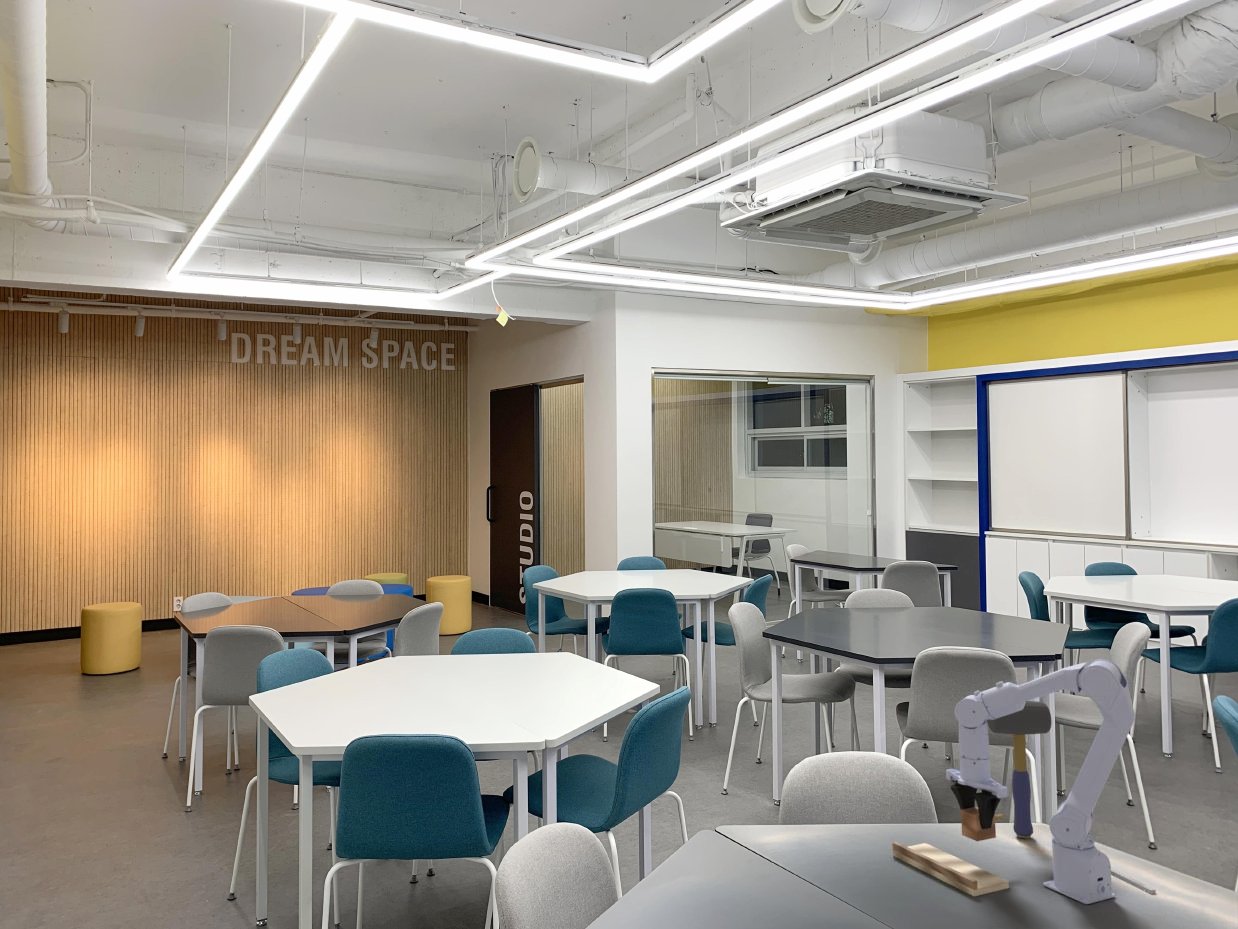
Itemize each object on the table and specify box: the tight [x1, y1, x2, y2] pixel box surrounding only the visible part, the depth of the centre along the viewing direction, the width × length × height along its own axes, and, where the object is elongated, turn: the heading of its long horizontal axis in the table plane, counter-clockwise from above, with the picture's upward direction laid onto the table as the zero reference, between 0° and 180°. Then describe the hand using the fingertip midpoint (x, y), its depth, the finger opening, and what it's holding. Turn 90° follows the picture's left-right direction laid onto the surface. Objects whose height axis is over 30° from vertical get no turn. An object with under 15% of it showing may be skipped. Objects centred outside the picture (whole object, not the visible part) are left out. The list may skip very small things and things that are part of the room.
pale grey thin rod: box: [1111, 867, 1157, 894], centre depth 166 cm, size 12×1×1 cm, turn 14°
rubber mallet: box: [987, 700, 1052, 839], centre depth 190 cm, size 12×8×30 cm, turn 86°
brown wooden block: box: [960, 806, 1005, 842], centre depth 174 cm, size 4×9×5 cm, turn 112°
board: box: [892, 841, 1010, 897], centre depth 171 cm, size 22×9×3 cm, turn 24°
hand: (977, 824), depth 173 cm, fingers closed on brown wooden block, 4 cm apart
